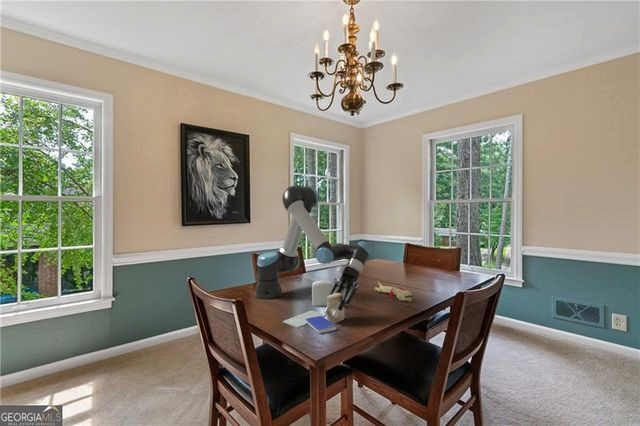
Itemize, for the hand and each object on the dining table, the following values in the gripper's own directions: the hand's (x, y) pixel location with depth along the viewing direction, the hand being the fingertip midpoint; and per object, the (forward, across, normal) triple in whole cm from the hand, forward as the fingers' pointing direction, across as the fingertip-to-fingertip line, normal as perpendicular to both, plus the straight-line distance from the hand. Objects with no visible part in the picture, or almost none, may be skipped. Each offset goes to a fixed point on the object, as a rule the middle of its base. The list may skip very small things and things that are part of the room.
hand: (330, 315), depth 129 cm
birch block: (0, 0, -5) cm, 5 cm away
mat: (+5, +11, +1) cm, 12 cm away
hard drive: (+6, 0, +2) cm, 7 cm away
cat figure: (-33, -2, -39) cm, 51 cm away
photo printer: (-8, +18, -13) cm, 24 cm away
